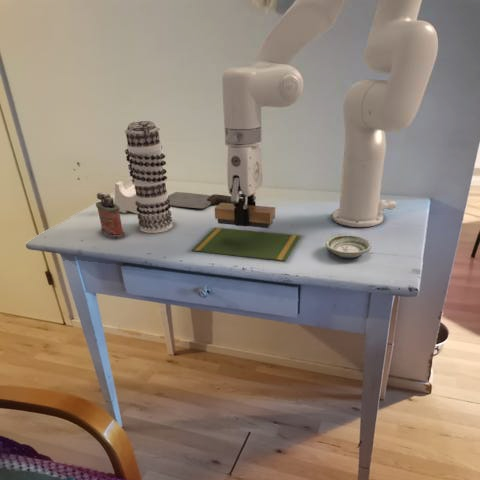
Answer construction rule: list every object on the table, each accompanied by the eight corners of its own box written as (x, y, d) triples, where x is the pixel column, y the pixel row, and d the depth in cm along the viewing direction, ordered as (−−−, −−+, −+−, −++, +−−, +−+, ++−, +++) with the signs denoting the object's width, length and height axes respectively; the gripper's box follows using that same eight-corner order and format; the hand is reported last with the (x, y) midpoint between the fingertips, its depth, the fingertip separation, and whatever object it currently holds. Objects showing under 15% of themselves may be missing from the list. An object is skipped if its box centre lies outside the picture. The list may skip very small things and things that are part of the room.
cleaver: (260, 205, 127) (259, 198, 126) (244, 216, 120) (243, 209, 118) (174, 195, 139) (173, 188, 138) (155, 205, 132) (153, 197, 131)
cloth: (300, 236, 107) (300, 235, 107) (285, 261, 96) (285, 260, 96) (214, 228, 114) (214, 227, 114) (191, 251, 103) (191, 249, 103)
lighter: (127, 236, 112) (120, 196, 107) (115, 240, 110) (107, 199, 105) (110, 228, 117) (102, 190, 112) (98, 232, 115) (90, 193, 110)
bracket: (137, 216, 126) (139, 191, 122) (114, 209, 127) (115, 183, 122) (154, 201, 137) (157, 177, 132) (132, 195, 137) (134, 171, 133)
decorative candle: (134, 224, 119) (116, 122, 105) (168, 218, 122) (154, 118, 108) (143, 236, 112) (124, 128, 98) (178, 229, 115) (165, 123, 101)
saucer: (376, 261, 94) (377, 250, 93) (331, 264, 94) (332, 254, 93) (361, 243, 103) (363, 233, 101) (320, 246, 102) (320, 236, 101)
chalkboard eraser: (221, 217, 106) (220, 202, 104) (275, 222, 102) (275, 207, 100) (215, 223, 102) (214, 208, 101) (270, 229, 99) (270, 213, 97)
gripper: (247, 145, 84) (249, 237, 94) (272, 129, 98) (271, 211, 107) (210, 144, 87) (216, 233, 97) (239, 128, 100) (241, 208, 110)
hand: (245, 221), depth 102 cm, fingers closed on chalkboard eraser, 4 cm apart
